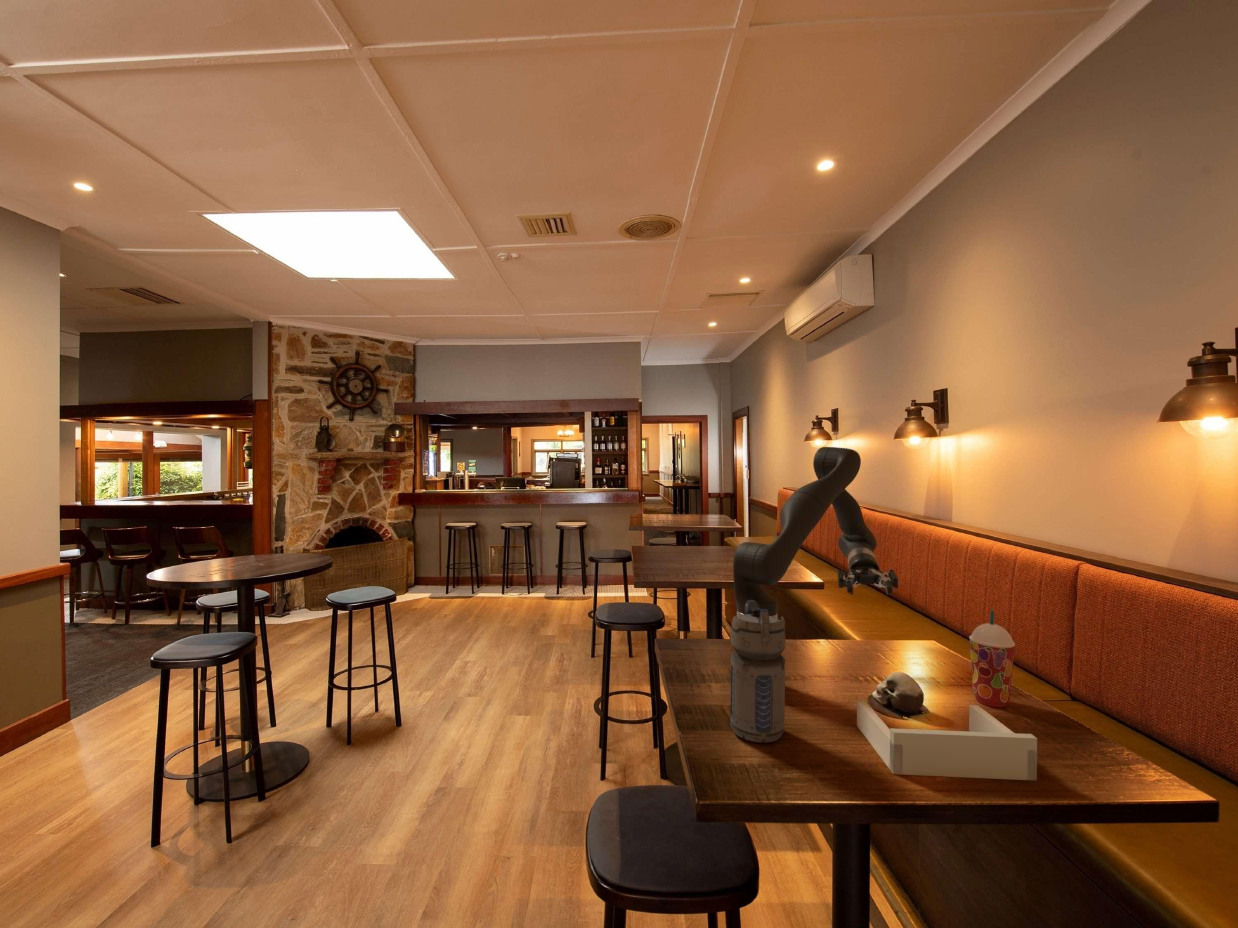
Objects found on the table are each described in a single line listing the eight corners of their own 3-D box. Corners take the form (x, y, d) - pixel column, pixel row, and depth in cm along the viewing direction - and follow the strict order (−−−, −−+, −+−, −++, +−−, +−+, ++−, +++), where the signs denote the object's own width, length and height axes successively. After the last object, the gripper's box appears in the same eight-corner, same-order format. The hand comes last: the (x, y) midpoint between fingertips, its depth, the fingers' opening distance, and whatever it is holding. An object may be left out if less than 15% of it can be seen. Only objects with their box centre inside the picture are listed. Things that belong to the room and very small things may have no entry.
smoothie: (1000, 695, 128) (1001, 607, 128) (1022, 711, 120) (1024, 617, 120) (961, 693, 129) (962, 605, 129) (981, 709, 120) (982, 615, 120)
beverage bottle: (772, 715, 117) (773, 594, 117) (792, 748, 103) (794, 611, 103) (723, 715, 117) (724, 594, 116) (737, 747, 103) (738, 611, 103)
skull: (851, 697, 124) (873, 658, 127) (876, 723, 127) (897, 684, 130) (900, 718, 113) (922, 674, 116) (926, 745, 116) (947, 702, 119)
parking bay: (893, 773, 95) (893, 732, 95) (856, 725, 113) (857, 690, 113) (1036, 780, 94) (1037, 738, 93) (977, 730, 111) (977, 694, 111)
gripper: (834, 552, 157) (838, 577, 142) (890, 551, 153) (901, 577, 138) (836, 577, 159) (840, 604, 144) (891, 577, 154) (902, 605, 139)
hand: (870, 591), depth 141 cm, fingers open, 8 cm apart
